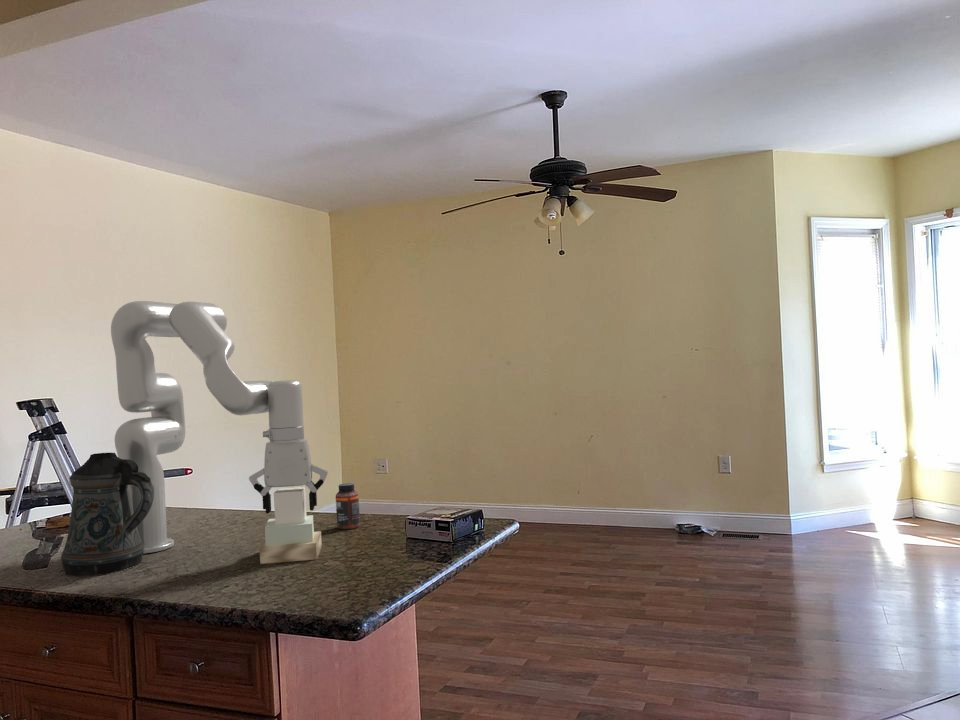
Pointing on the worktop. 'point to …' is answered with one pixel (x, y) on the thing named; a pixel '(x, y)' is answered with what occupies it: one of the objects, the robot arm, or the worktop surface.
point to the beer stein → (105, 516)
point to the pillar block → (290, 505)
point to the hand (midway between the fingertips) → (290, 510)
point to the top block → (289, 532)
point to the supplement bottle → (347, 507)
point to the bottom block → (291, 551)
